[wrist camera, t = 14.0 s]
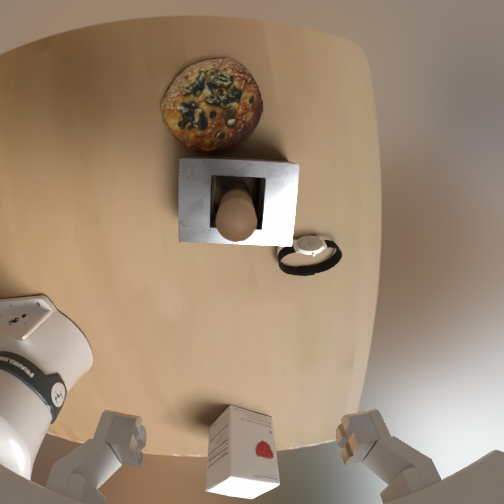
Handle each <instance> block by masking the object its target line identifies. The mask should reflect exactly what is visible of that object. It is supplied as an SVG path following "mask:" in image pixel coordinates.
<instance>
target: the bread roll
mask: <svg viewBox="0 0 504 504" xmlns="http://www.w3.org/2000/svg"><path fill="white" fill-rule="evenodd" d="M161 109H162V111H163V117H164V124H165V126H166V127H167V128H168V129H169V130H170V131H171V132H172V133H173V135H174V136H175V138H176V139H177V140H180V141H181V142H182V143H183V144H184V145H186V146H187V147H188V148H189V149H192V150H197V151H199V152H202V153H212V152H219V151H224V150H228V149H231V148H233V147H236V146H238V145H240V143H241V142H243V141H245V140H246V139H247V138H248V137H249V136H250V135H251V134H252V133H253V131H254V130H255V128H256V126H257V124H258V122H259V120H260V118H261V115H262V112H263V100H262V98H261V93H260V91H259V88H258V86H257V84H256V82H255V80H254V78H253V77H252V75H251V74H250V72H249V71H248V70H247V69H246V68H245V67H244V66H243V65H242V64H240V63H238V62H236V61H235V60H233V59H231V58H223V59H220V58H218V59H210V60H206V61H202V62H198V63H196V64H193V65H191V66H189V67H188V68H186V69H185V70H184V71H183V72H182V73H181V74H180V75H179V76H178V77H177V78H175V80H174V82H173V84H172V85H171V86H170V89H169V90H168V92H167V94H166V97H165V98H164V99H163V101H162V105H161Z"/></svg>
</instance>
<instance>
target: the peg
mask: <svg viewBox="0 0 504 504" xmlns="http://www.w3.org/2000/svg"><path fill="white" fill-rule="evenodd" d="M256 226H257V217H256V214H255V210H254V206H253V203H252V199H251V195H250V192H249V189H248V187H247V186H246V185H245V184H243V183H240V182H233V183H230V184H229V185H228V186H227V187H226V188H225V190H224V193H223V196H222V199H221V203H220V206H219V209H218V213H217V216H216V227H217V230H218V232H219V233H220V235H221V236H222V237H223V238H225V239H227V240H229V241H233V242H240V241H244V240H246V239H248V238H249V237H250V236H251V235H252V234H253V233H254V231H255V229H256Z"/></svg>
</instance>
